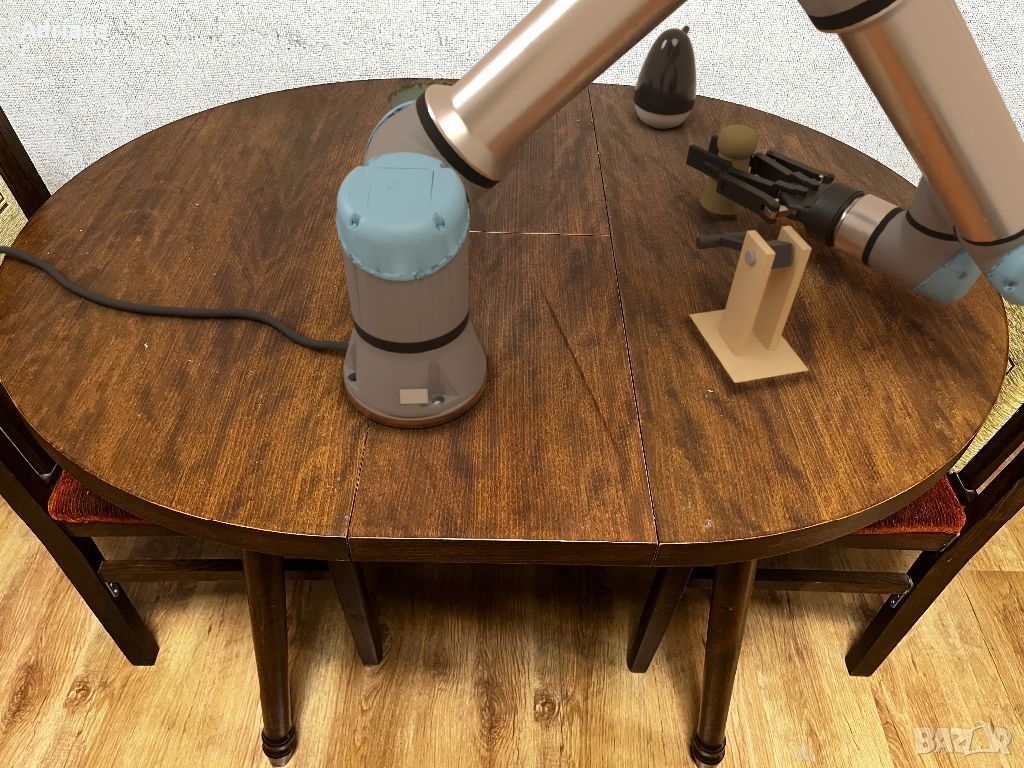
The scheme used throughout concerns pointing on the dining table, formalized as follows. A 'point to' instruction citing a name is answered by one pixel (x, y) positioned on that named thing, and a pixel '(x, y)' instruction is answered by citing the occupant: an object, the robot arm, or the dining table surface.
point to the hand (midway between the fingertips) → (700, 149)
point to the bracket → (757, 311)
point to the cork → (737, 148)
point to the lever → (736, 243)
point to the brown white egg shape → (667, 81)
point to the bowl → (411, 92)
